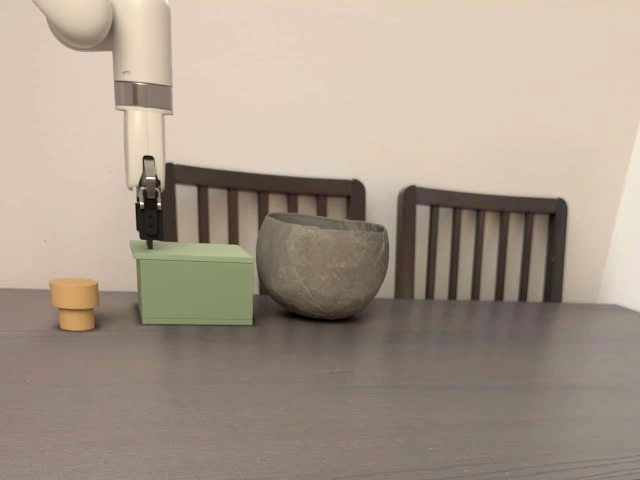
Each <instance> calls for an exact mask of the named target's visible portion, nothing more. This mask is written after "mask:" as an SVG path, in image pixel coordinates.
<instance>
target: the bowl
mask: <svg viewBox="0 0 640 480" xmlns="http://www.w3.org/2000/svg"><path fill="white" fill-rule="evenodd" d="M261 223H262V224H261V226H260V229H259V231H258V234H257V238H256V244H255V265H256V271H257V277H258V280H259V282H260V285H261V287H262V288H263V290H264V291H265V292H266V293H267V295H268V296H269V297H270V299H272V300H273V302H275V303H276V304H277V305H278V306H280V307H281V308H283V309H284V310H286V311H289V312H290V313H293V314H296V315H299V316H302V317H307V318H313V319H321V320H340V319H346V318H349V317H351V316H354V315H356V314H358V313H360V312H361V311H362V310H364V309H366V307H368V306H369V305H370V304H371V303H372V302H373V300H374V299H375V297H376V296H377V295H378V293H379V291H380V289H381V287H382V286H383V284H384V282H385V279H386V276H387V273H388V269H389V261H390V239H389V234H388V230H387V228H386V226H384V225H383V224H380V223H375V222H370V221H365V220H357V219H356V220H354V219H346V218H344V219H340V218H334V217H328V216H321V215H315V214H310V213H309V214H308V213H300V212H288V211H280V212H278V211H274V212H269V213H267V214H266V215H265V217H264V219H263V220H262V222H261Z"/></svg>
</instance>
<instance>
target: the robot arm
mask: <svg viewBox="0 0 640 480" xmlns="http://www.w3.org/2000/svg"><path fill="white" fill-rule="evenodd" d="M31 2H32V4H34V5H35V6H36V8H38V10H39V11H40V12H41V13H42V14H43V16H45V20H46V23H47V26H48V28H49V30H50V32H51V34H52V36H53V37H54V38H55V40H57V41H58V42H59V43H60V44H61V45H63V47H66V48H68V49H70V50H71V51H75V52H80V53H97V52H100V53H101V52H111V55H112V73H113V93H114V110H115V111H120V112H123V151H124V170H125V171H124V172H125V173H124V174H125V186H126V188H127V190H128V191H130V192H133V191H134V187H135V197H136V198H135V199H136V202H135V203H134V206H135V207H134V208H135V209H134V210H135V211H134V212H135V229H136V231H137V232H138V238H139V240H140V241H146V240H153V241H160V242H163V241H164V235H165V234H164V211H163V209H162V198H161V197H162V196H161V193H163V192H164V191H165V187H166V185H165V184H166V122H165V120H166V119H165V118H166V117H165V116H174V91H173V90H174V88H173V85H174V84H173V48H172V47H173V43H172V13H171V5H170V3H169V1H168V0H31Z"/></svg>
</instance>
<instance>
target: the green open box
mask: <svg viewBox="0 0 640 480" xmlns="http://www.w3.org/2000/svg"><path fill="white" fill-rule="evenodd" d="M135 265H136V286H137V305H138V311H139V314H140V319H141V323H142V325H187V326H188V325H189V326H190V325H191V326H192V325H194V326H195V325H196V326H198V325H199V326H200V325H201V326H202V325H203V326H205V325H206V326H253V323H254V322H253V321H254V320H253V318H254V316H253V315H254V314H253V313H254V269H255V268H254V266H255V265H254V263H230V262H203V261H176V260H149V259H135Z"/></svg>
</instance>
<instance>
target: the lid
mask: <svg viewBox="0 0 640 480" xmlns="http://www.w3.org/2000/svg"><path fill="white" fill-rule="evenodd" d="M129 247H130V251H131V254H132V258H133V259H134V260H136V259H149V260H176V261H203V262H230V263H253V264H254V263H255V257H253V255H251V254H250V253H249V252H247V251H246V250H245V249H243V247H241V246H240V245H239V244H228V243H227V244H224V243H205V242H204V243H202V242H181V241H180V242H179V241H178V242H177V241H153V240H139V239H137V240H136V239H135V240H133V239H130V240H129Z"/></svg>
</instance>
